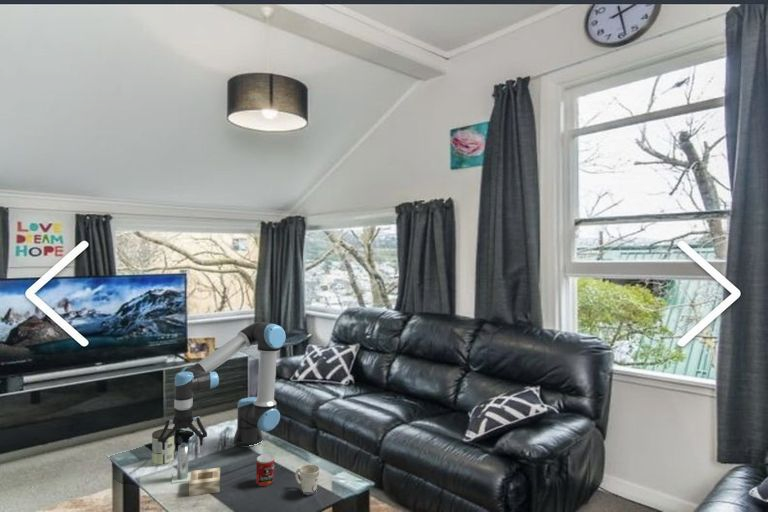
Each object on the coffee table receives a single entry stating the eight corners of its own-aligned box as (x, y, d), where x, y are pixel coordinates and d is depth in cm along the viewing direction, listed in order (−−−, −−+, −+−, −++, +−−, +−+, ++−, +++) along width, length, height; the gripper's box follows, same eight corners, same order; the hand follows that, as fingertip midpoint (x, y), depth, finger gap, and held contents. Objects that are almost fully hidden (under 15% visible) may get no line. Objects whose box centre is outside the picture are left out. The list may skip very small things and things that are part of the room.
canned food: (258, 488, 202) (258, 463, 202) (254, 480, 209) (254, 455, 209) (275, 484, 206) (276, 459, 206) (271, 476, 213) (271, 452, 213)
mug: (310, 499, 195) (310, 475, 194) (287, 490, 201) (288, 467, 201) (322, 490, 202) (323, 467, 202) (300, 482, 208) (301, 460, 208)
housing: (219, 478, 210) (220, 467, 210) (219, 491, 199) (219, 480, 199) (191, 482, 206) (191, 471, 206) (189, 496, 195) (189, 484, 195)
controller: (174, 443, 246) (174, 424, 246) (195, 445, 243) (195, 426, 243) (168, 446, 242) (169, 427, 242) (189, 449, 239) (190, 429, 239)
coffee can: (159, 456, 231) (159, 427, 231) (179, 457, 230) (179, 428, 230) (146, 465, 221) (147, 435, 221) (167, 467, 220) (168, 437, 220)
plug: (188, 474, 212) (189, 441, 212) (187, 478, 208) (188, 445, 208) (177, 475, 211) (178, 442, 211) (176, 480, 207) (177, 446, 207)
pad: (192, 472, 215) (192, 471, 215) (191, 481, 207) (191, 480, 207) (173, 475, 212) (173, 474, 212) (171, 483, 205) (171, 482, 205)
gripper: (213, 402, 217) (212, 447, 217) (153, 407, 209) (153, 454, 209) (212, 407, 210) (212, 454, 210) (151, 412, 202) (150, 461, 202)
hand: (182, 454), depth 209 cm, fingers open, 13 cm apart
